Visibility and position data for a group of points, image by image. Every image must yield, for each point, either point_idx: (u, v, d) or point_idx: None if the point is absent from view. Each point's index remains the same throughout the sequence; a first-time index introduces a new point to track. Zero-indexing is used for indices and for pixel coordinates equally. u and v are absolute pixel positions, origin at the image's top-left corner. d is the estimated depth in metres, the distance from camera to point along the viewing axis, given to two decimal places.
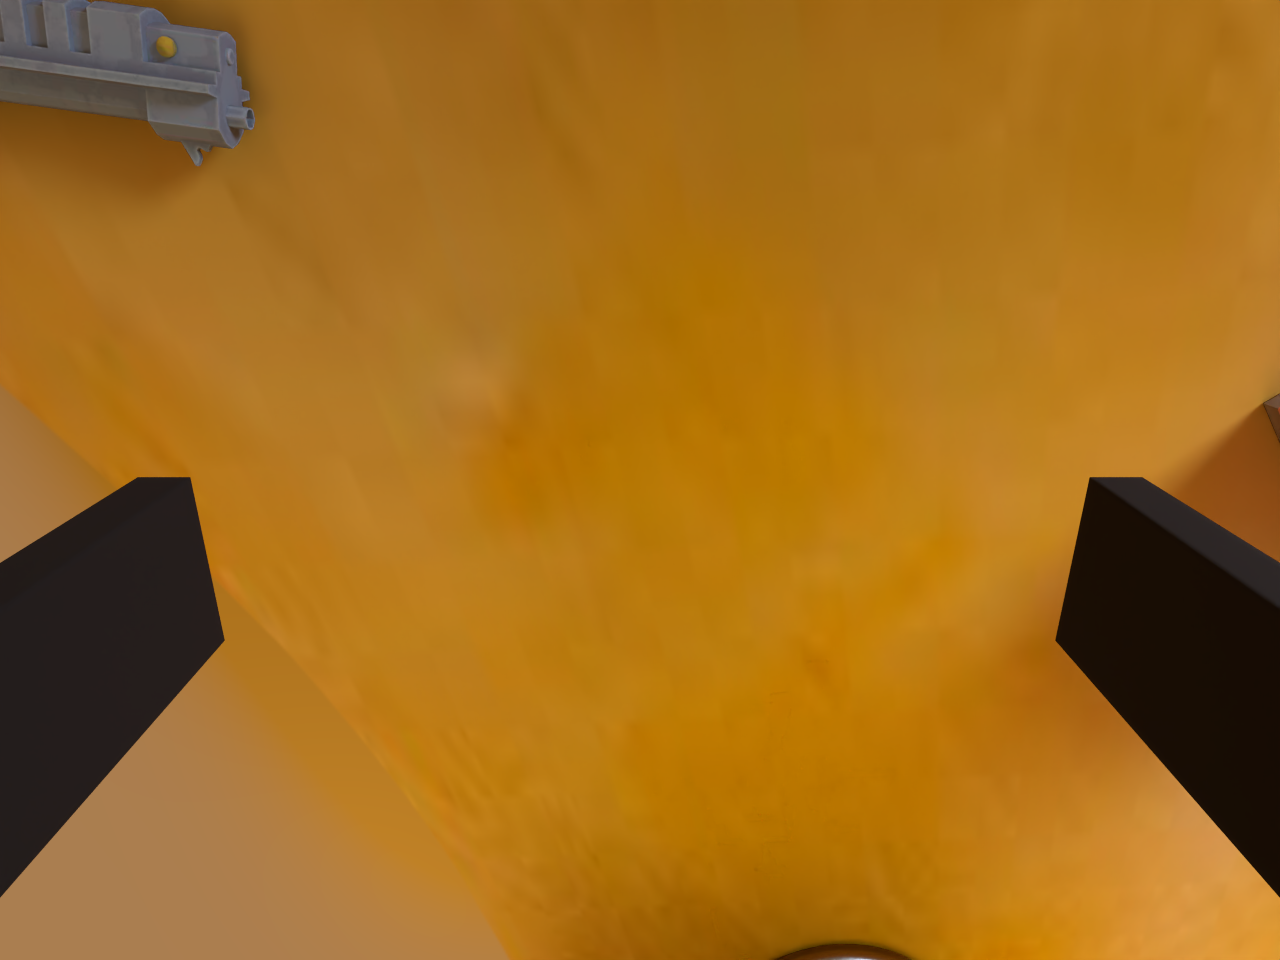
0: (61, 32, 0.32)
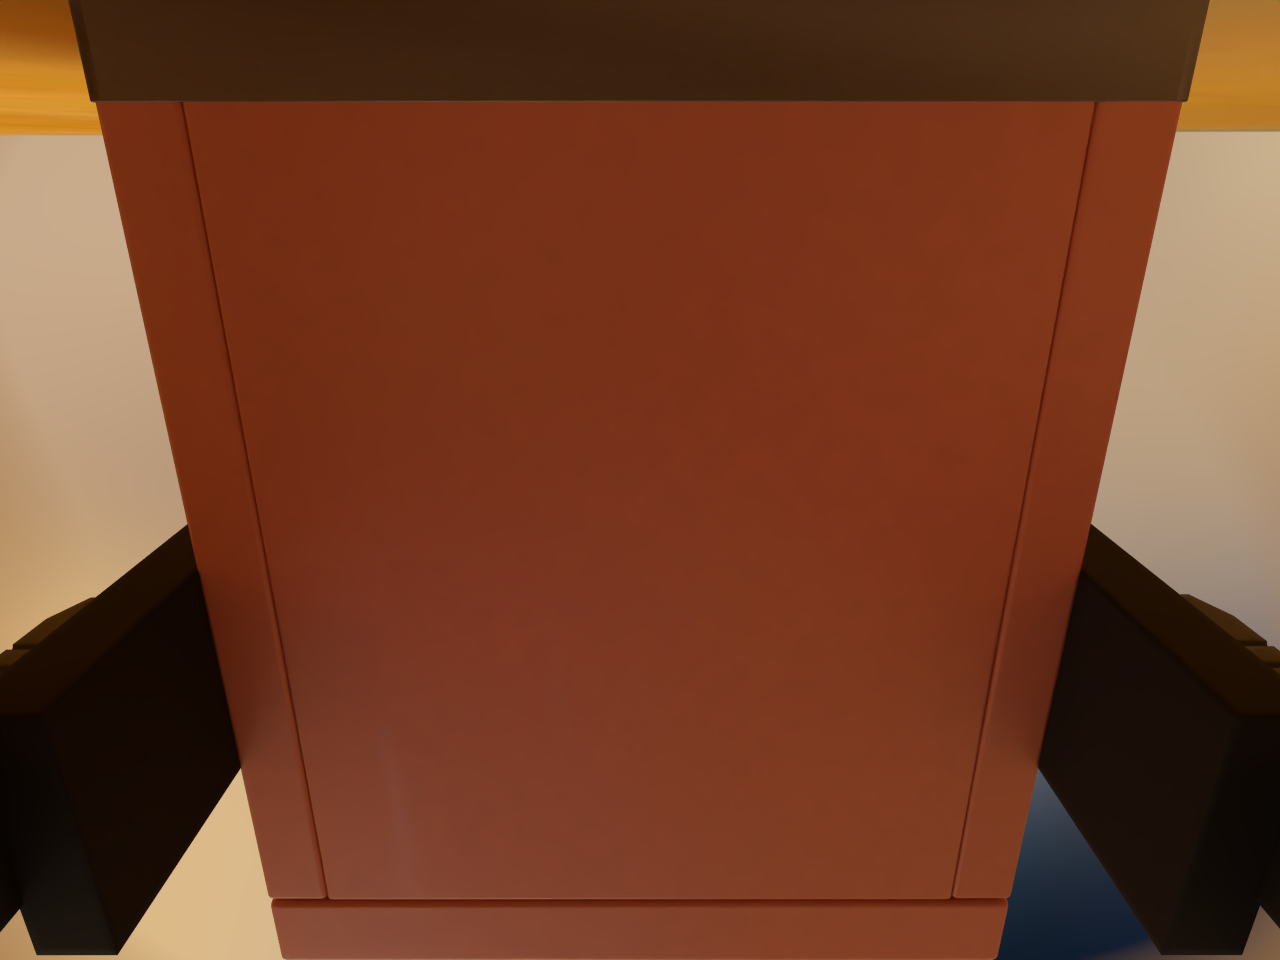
0: None
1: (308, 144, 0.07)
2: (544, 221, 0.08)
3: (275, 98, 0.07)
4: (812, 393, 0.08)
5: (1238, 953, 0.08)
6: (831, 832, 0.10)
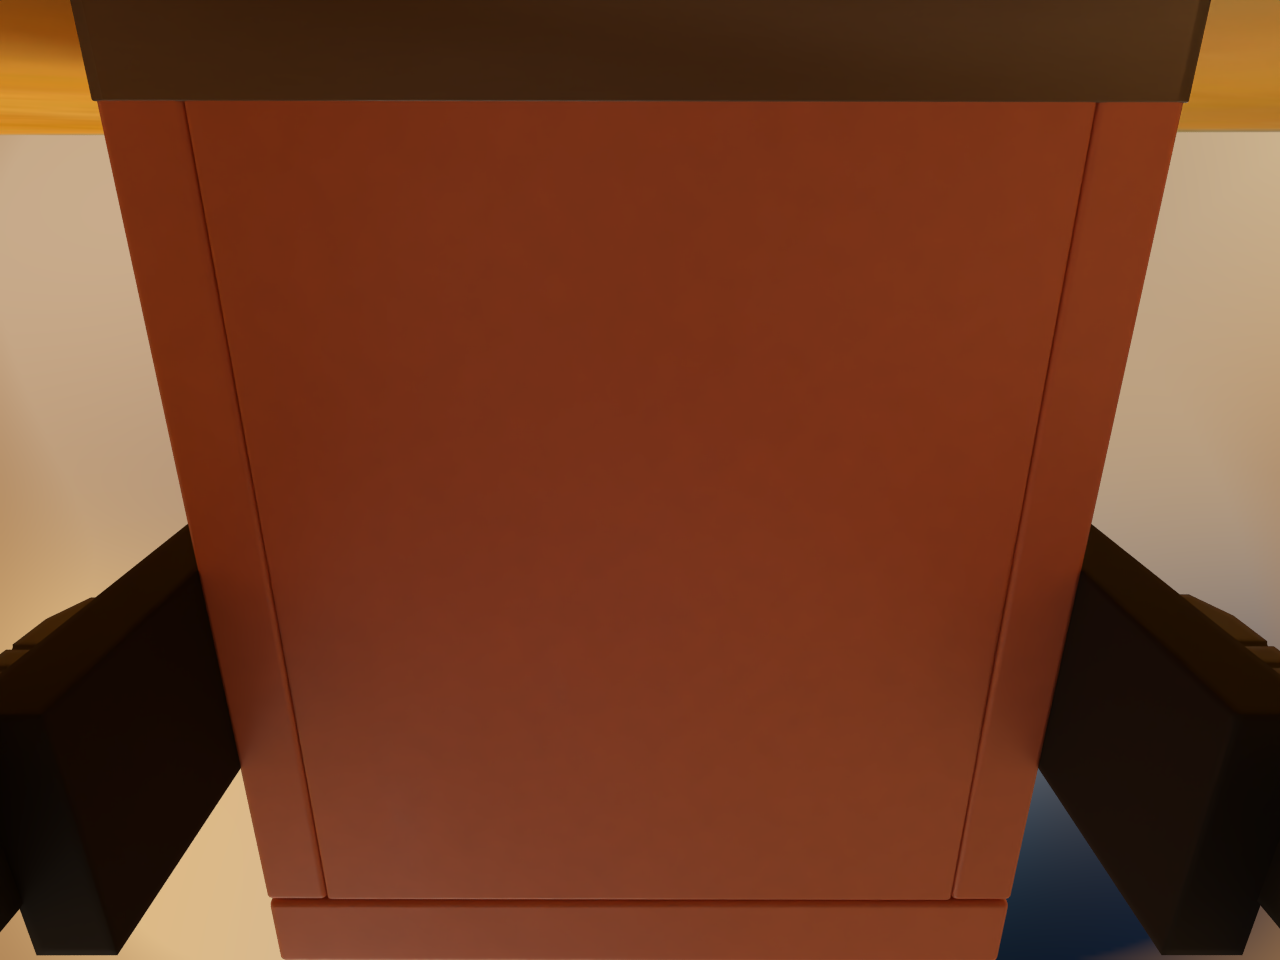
0: None
1: (309, 142, 0.07)
2: (545, 220, 0.08)
3: (277, 98, 0.07)
4: (813, 393, 0.08)
5: (1238, 952, 0.08)
6: (830, 833, 0.10)
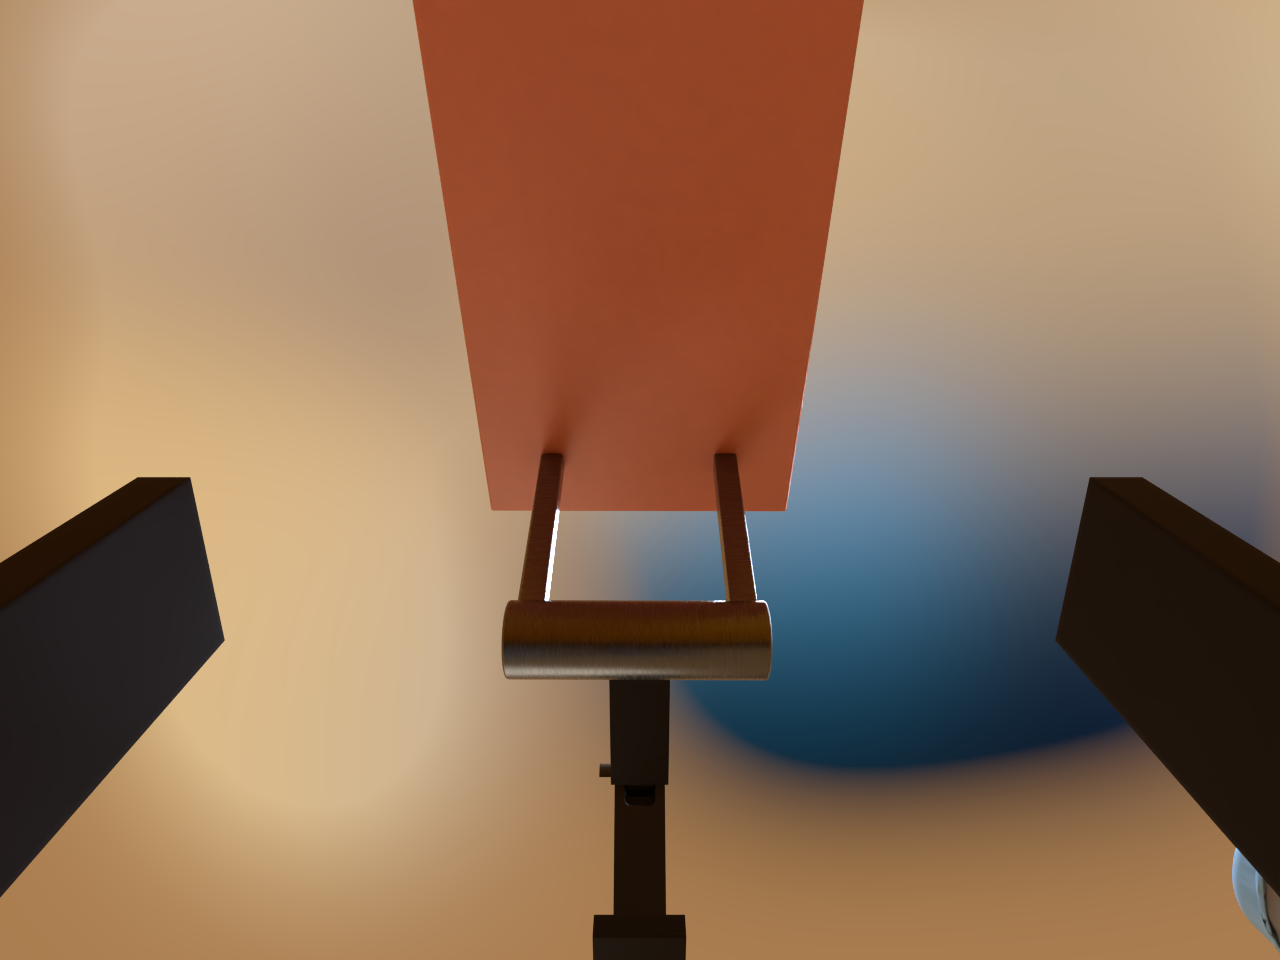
0: None
1: None
2: None
3: None
4: None
5: None
6: None
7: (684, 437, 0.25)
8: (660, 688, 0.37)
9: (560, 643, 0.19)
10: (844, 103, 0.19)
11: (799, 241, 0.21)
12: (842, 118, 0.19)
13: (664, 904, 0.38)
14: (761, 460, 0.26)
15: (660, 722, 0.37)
